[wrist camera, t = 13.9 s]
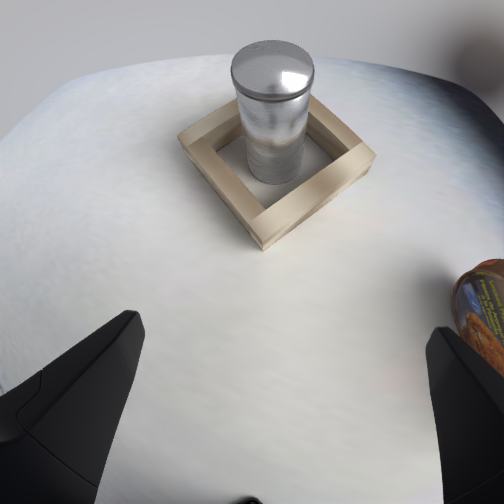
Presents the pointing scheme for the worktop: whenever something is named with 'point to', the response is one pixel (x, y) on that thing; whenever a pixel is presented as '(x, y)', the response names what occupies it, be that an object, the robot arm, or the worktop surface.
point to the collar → (297, 201)
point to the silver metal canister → (273, 106)
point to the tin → (482, 310)
